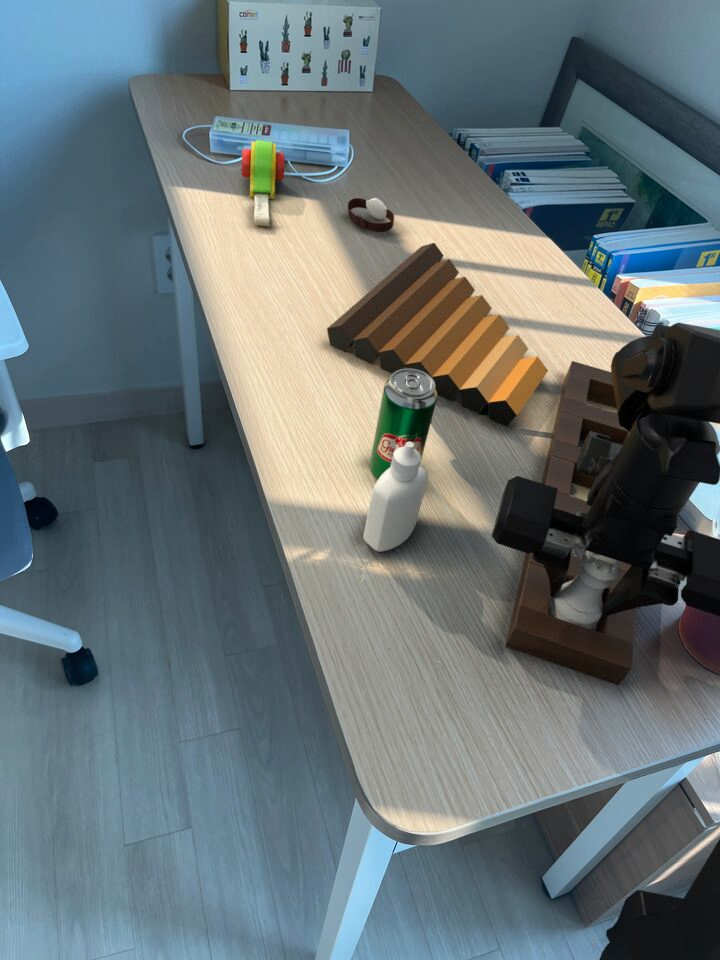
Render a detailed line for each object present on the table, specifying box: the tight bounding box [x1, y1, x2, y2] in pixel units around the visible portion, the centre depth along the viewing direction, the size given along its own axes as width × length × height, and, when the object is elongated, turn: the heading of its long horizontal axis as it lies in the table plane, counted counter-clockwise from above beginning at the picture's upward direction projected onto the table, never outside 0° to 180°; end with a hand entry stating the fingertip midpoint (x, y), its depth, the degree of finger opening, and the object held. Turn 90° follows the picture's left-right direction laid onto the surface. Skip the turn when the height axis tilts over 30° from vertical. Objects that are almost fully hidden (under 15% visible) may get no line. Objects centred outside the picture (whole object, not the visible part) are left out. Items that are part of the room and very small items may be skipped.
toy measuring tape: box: [241, 139, 286, 227], centre depth 113 cm, size 6×19×7 cm, turn 4°
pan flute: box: [326, 242, 549, 428], centre depth 95 cm, size 25×3×25 cm
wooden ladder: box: [505, 360, 638, 686], centre depth 77 cm, size 40×10×3 cm, turn 162°
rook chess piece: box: [550, 550, 621, 630], centre depth 64 cm, size 4×4×8 cm
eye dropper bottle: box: [362, 442, 429, 553], centre depth 68 cm, size 4×6×12 cm
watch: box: [347, 197, 395, 233], centre depth 112 cm, size 8×5×4 cm, turn 56°
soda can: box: [369, 368, 438, 481], centre depth 74 cm, size 5×5×12 cm
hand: (579, 602), depth 66 cm, fingers closed on rook chess piece, 4 cm apart
